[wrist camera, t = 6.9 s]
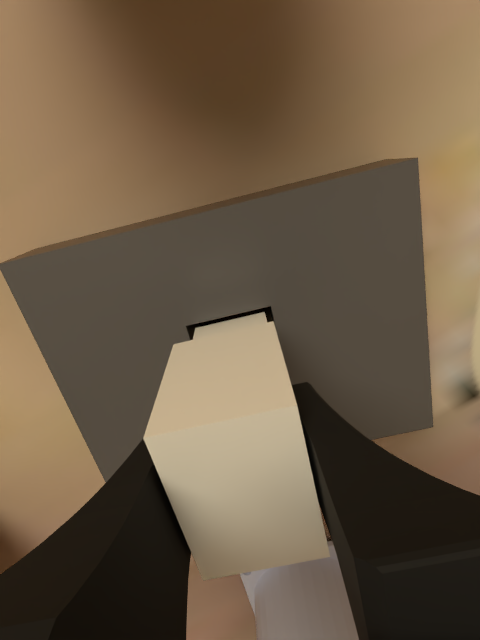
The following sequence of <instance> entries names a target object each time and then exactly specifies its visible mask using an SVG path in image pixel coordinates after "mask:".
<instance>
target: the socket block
mask: <svg viewBox="0 0 480 640" xmlns="http://www.w3.org/2000/svg"><path fill="white" fill-rule="evenodd" d="M0 270H1V272H2V274H3V276H4V278H5V280H6V282H7V284H8V286H9V288H10V290H11V292H12V294H13V296H14V298H15V300H16V302H17V304H18V306H19V308H20V310H21V312H22V314H23V316H24V318H25V320H26V322H27V324H28V326H29V328H30V330H31V332H32V334H33V336H34V338H35V340H36V342H37V344H38V346H39V348H40V351H41V353H42V355H43V357H44V359H45V361H46V363H47V365H48V367H49V369H50V371H51V373H52V375H53V377H54V379H55V381H56V383H57V385H58V387H59V389H60V391H61V393H62V395H63V397H64V399H65V401H66V403H67V405H68V407H69V409H70V411H71V413H72V415H73V417H74V419H75V421H76V423H77V425H78V427H79V429H80V431H81V433H82V435H83V438H84V440H85V442H86V444H87V446H88V448H89V450H90V452H91V454H92V456H93V458H94V460H95V462H96V464H97V466H98V468H99V470H100V472H101V474H102V476H103V478H104V480H105V482H107V481H108V480H109V479H110V478H111V476H112V475H113V474H114V473H115V472H116V471H117V470H118V468H119V467H120V466H121V465H122V464H123V463H124V461H125V460H126V459H127V458H128V457H129V455H130V454H131V453H132V452H133V450H134V449H135V448H136V447H137V445H138V444H139V443H140V442H141V440H142V439H143V437H144V434H145V431H146V428H147V425H148V422H149V419H150V416H151V413H152V409H153V406H154V403H155V400H156V397H157V394H158V391H159V388H160V385H161V382H162V378H163V375H164V372H165V369H166V366H167V363H168V360H169V357H170V354H171V350H172V347H173V344H177V343H181V342H185V341H190V340H193V336H194V332H195V328H197V327H200V325H199V323H201V322H205V321H209V320H214V319H218V318H222V317H226V316H231V315H235V314H239V313H244V312H248V311H252V310H256V309H261V308H265V307H269V306H270V311H271V315H272V319H273V321H274V325H275V329H276V332H277V336H278V339H279V343H280V346H281V350H282V353H283V357H284V360H285V364H286V367H287V371H288V375H289V378H290V382H291V385H295V384H299V383H304V382H308V383H309V384H311V385H312V387H313V388H314V389H315V391H316V392H317V393H318V394H319V395H320V396H321V397H322V398H323V399H324V400H325V402H326V403H327V404H328V405H329V406H330V407H331V408H332V409H334V410H335V411H336V412H337V413H338V414H339V415H340V416H341V417H342V418H343V419H345V420H346V421H347V422H348V423H349V424H350V425H352V426H353V427H354V428H355V429H357V430H358V431H359V432H360V433H362V434H363V435H364V436H366V437H367V438H368V439H370V440H373V439H378V438H383V437H387V436H392V435H397V434H402V433H407V432H412V431H416V430H421V429H426V428H431V427H433V414H432V396H431V379H430V361H429V344H428V326H427V309H426V291H425V274H424V256H423V239H422V222H421V204H420V187H419V169H418V158H404V159H386V160H382V161H378V162H374V163H370V164H366V165H362V166H358V167H354V168H350V169H346V170H342V171H339V172H335V173H331V174H327V175H323V176H319V177H315V178H311V179H307V180H303V181H299V182H295V183H291V184H288V185H284V186H280V187H276V188H272V189H268V190H264V191H260V192H256V193H252V194H248V195H244V196H241V197H237V198H233V199H229V200H225V201H221V202H217V203H213V204H209V205H205V206H201V207H197V208H194V209H190V210H186V211H182V212H178V213H174V214H170V215H166V216H162V217H158V218H154V219H150V220H146V221H143V222H139V223H135V224H131V225H127V226H123V227H119V228H115V229H111V230H107V231H103V232H99V233H96V234H92V235H88V236H84V237H80V238H76V239H72V240H68V241H64V242H60V243H56V244H52V245H49V246H45V247H41V248H37V249H34V250H31V251H29V252H27V253H24V254H22V255H19V256H17V257H15V258H12V259H10V260H7V261H5V262H3V263H0Z"/></svg>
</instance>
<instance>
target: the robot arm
mask: <svg viewBox="0 0 480 640" xmlns="http://www.w3.org/2000/svg"><path fill="white" fill-rule="evenodd" d="M292 389H293V392H294V396H295V399H296V403H297V407H298V411H299V416H300V421H301V425H302V430H303V434H304V439H305V443H306V448H307V453H308V457H309V462H310V466H311V471H312V475H313V480H314V485H315V489H316V494H317V498H318V502H319V505H320V508H321V510H322V513H323V516H324V519H325V521H326V524H327V527H328V530H329V533H330V535H331V538H332V541H327V544H328V548H329V553H330V557H327V558H322V559H317V560H311V561H306V562H300V563H295V564H290V565H284V566H279V567H274V568H268V569H263V570H258V571H252V572H247V573H242V574H240V576H241V579H242V582H243V584H244V587H245V590H246V593H247V595H248V598H249V601H250V604H251V606H252V609H253V612H254V615H255V618H256V635H257V640H480V496H479V495H476V494H473V493H471V492H468V491H465V490H463V489H460V488H458V487H456V486H453V485H451V484H449V483H447V482H444V481H442V480H440V479H438V478H435V477H433V476H431V475H429V474H427V473H425V472H423V471H421V470H419V469H418V468H416V467H414V466H412V465H410V464H408V463H406V462H404V461H402V460H401V459H399V458H397V457H396V456H394V455H392V454H391V453H389V452H388V451H386V450H384V449H383V448H381V447H380V446H378V445H377V444H375V443H374V442H373V441H371V440H370V439H368V438H367V437H366V436H364V435H363V434H362V433H360V432H359V431H358V430H357V429H355V428H354V427H353V426H352V425H350V424H349V423H348V422H347V421H346V420H345V419H343V418H342V417H341V416H340V415H339V414H338V413H337V412H336V411H335V410H334V409H332V408H331V407H330V406H329V405H328V404H327V403H326V402H325V400H324V399H323V398H322V397H321V396H320V395H319V394H318V393H317V392H316V391H315V389H314V388H313V387H312V385H311V384H309V383H308V382H304V383H299V384H295V385H292ZM190 557H191V551H190V548H189V546H188V544H187V541H186V539H185V536H184V534H183V532H182V529H181V527H180V524H179V522H178V520H177V517H176V515H175V513H174V510H173V508H172V505H171V503H170V501H169V498H168V496H167V494H166V491H165V489H164V486H163V484H162V482H161V479H160V477H159V474H158V472H157V470H156V467H155V465H154V463H153V460H152V458H151V455H150V453H149V451H148V448H147V446H146V444H145V441H144V439H142V440H141V442H140V443H139V444H138V445H137V447H136V448H135V449H134V450H133V452H132V453H131V454H130V455H129V457H128V458H127V459H126V460H125V461H124V463H123V464H122V465H121V466H120V467H119V468H118V470H117V471H116V472H115V473H114V474H113V475H112V476H111V478H110V479H109V480H108V481H107V482H106V483H105V484H104V486H103V487H102V488H101V489H100V490H99V491H98V492H97V493H96V494H95V495H94V496H93V497H92V498H91V499H90V500H89V501H88V502H87V503H86V504H85V505H84V506H83V507H82V508H81V509H80V510H79V511H78V512H77V513H76V514H75V515H73V516H72V517H71V518H70V519H69V520H68V521H67V522H66V523H64V524H63V525H62V526H61V527H60V528H59V529H57V530H56V531H55V532H54V533H53V534H52V535H50V536H49V537H48V538H47V539H46V540H45V541H44V542H42V543H41V544H40V545H39V546H37V547H36V548H35V549H34V550H32V551H31V552H30V553H28V554H27V555H26V556H25V557H23V558H22V559H21V560H19V561H18V562H17V563H15V564H14V565H13V566H11V567H10V568H9V569H7V570H6V571H5V572H3V573H2V574H1V575H0V640H186V620H187V593H188V575H189V565H190Z"/></svg>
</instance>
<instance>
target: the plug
mask: <svg viewBox="0 0 480 640" xmlns="http://www.w3.org/2000/svg"><path fill="white" fill-rule="evenodd" d="M143 439H144V441H145V444H146V446H147V448H148V451H149V453H150V455H151V458H152V460H153V463H154V465H155V467H156V470H157V472H158V474H159V477H160V479H161V482H162V484H163V486H164V489H165V491H166V494H167V496H168V498H169V501H170V503H171V505H172V508H173V510H174V513H175V515H176V517H177V520H178V522H179V524H180V527H181V529H182V532H183V534H184V536H185V539H186V541H187V544H188V546H189V548H190V551H191V553H192V555H193V558H194V560H195V563H196V565H197V567H198V570H199V572H200V574H201V577H202V579H203V581H204V580H210V579H215V578H220V577H226V576H231V575H236V574H242V573H247V572H252V571H258V570H263V569H268V568H274V567H279V566H284V565H290V564H295V563H300V562H306V561H311V560H317V559H322V558H327V557H330V553H329V548H328V544H327V539H326V535H325V530H324V526H323V521H322V517H321V512H320V507H319V503H318V498H317V494H316V489H315V485H314V480H313V475H312V471H311V466H310V462H309V457H308V453H307V448H306V443H305V439H304V434H303V430H302V425H301V421H300V416H299V411H298V407H297V403H296V399H295V396H294V392H293V389H292V385H291V382H290V378H289V375H288V371H287V367H286V364H285V360H284V357H283V353H282V350H281V346H280V343H279V339H278V336H277V332H276V329H275V325H274V321H272V322H268V323H267V319H266V315H265V312H262V313H257V314H253V315H249V316H245V317H240V318H236V319H232V320H227V321H223V322H219V323H215V324H210V325H206V326H202V327H197V328H195V332H194V336H193V340H190V341H185V342H181V343H177V344H173V347H172V350H171V354H170V357H169V360H168V363H167V366H166V369H165V372H164V375H163V378H162V382H161V385H160V388H159V391H158V394H157V397H156V400H155V403H154V406H153V409H152V413H151V416H150V419H149V422H148V425H147V428H146V431H145V434H144V437H143Z"/></svg>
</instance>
